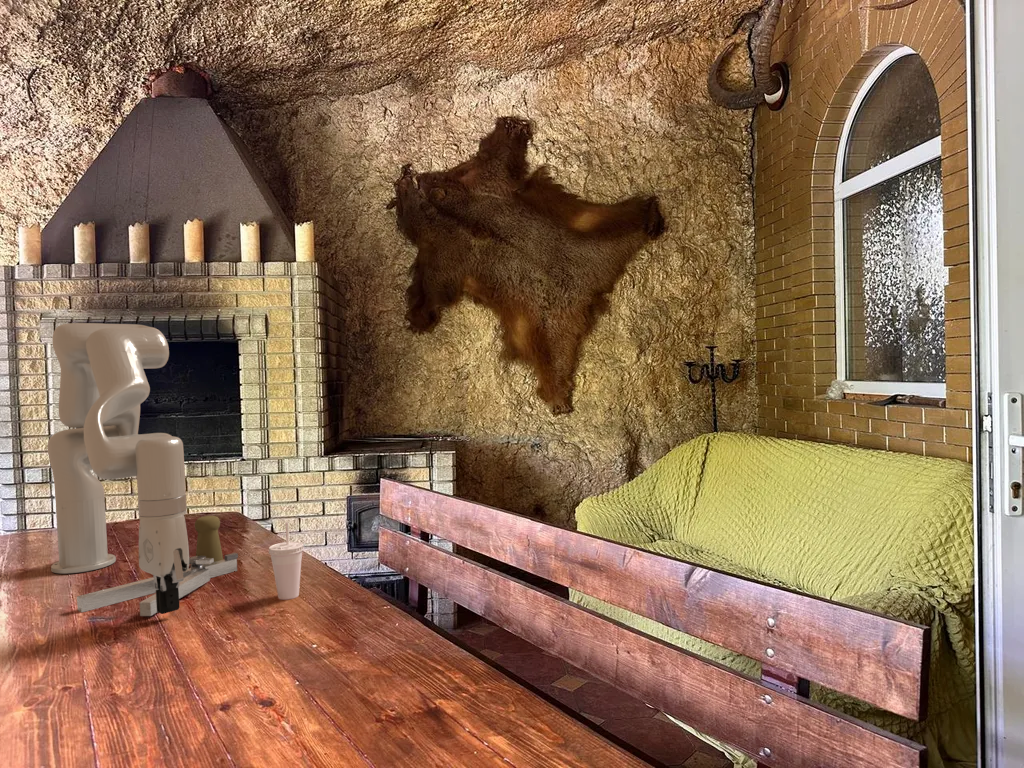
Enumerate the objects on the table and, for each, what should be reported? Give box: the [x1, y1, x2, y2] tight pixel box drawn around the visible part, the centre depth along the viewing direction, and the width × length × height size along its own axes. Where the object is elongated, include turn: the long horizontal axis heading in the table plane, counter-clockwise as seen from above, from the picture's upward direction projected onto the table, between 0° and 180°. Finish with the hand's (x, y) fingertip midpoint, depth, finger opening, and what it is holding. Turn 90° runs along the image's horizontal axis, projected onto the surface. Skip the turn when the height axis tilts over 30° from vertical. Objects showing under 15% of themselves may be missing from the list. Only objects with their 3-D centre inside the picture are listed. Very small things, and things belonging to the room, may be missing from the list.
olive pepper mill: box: [194, 515, 224, 565], centre depth 155 cm, size 6×6×11 cm
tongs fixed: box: [76, 552, 239, 613], centre depth 139 cm, size 2×31×4 cm, turn 140°
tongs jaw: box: [139, 555, 214, 617], centre depth 134 cm, size 6×24×4 cm, turn 175°
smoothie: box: [268, 521, 305, 601], centre depth 131 cm, size 6×6×14 cm
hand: (168, 610), depth 122 cm, fingers closed
